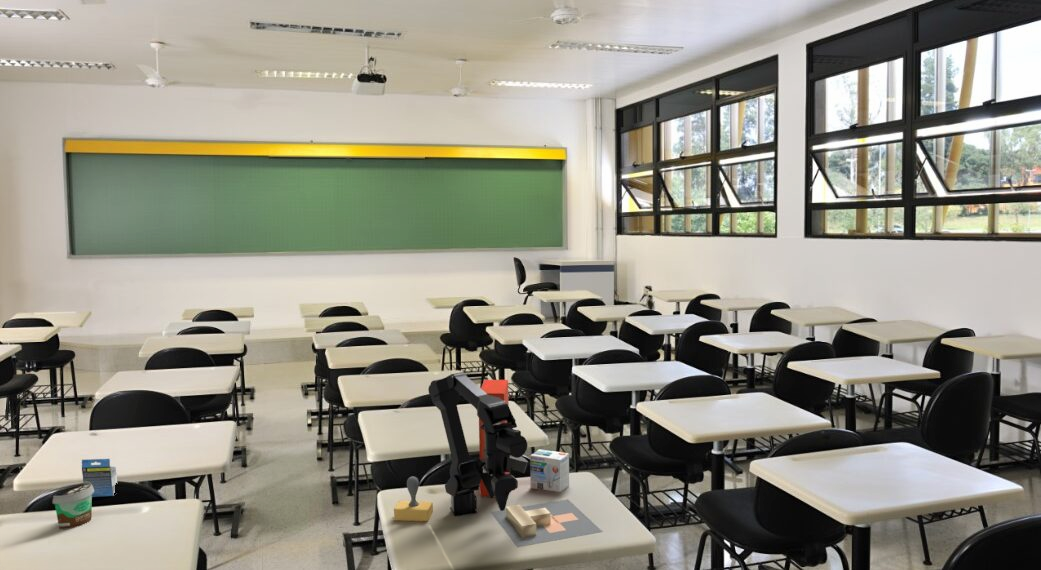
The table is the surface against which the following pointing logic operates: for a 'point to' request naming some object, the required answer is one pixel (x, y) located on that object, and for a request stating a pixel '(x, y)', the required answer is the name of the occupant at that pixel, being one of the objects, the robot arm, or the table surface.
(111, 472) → the label tape box
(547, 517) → the t block
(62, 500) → the food container
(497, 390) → the file binder
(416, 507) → the rubber stamp
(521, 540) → the mat
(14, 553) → the table surface
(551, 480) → the light bulb box
